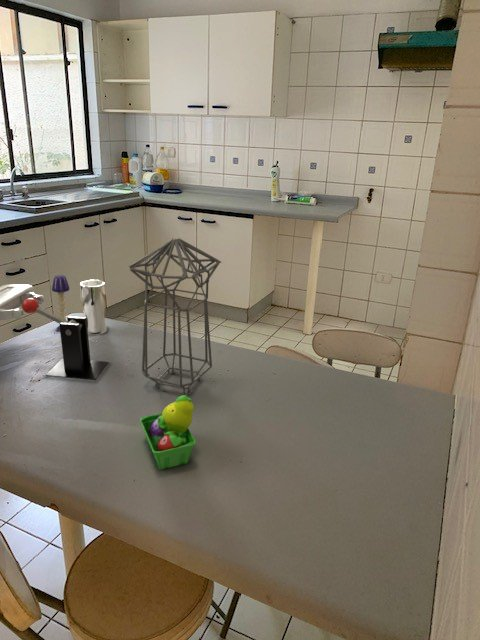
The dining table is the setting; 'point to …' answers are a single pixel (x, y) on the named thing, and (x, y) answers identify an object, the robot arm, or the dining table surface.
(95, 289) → the silver metal vase
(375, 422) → the dining table surface
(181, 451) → the fruit basket
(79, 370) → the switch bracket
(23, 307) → the switch lever
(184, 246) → the geometric lantern
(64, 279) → the toy lamp
